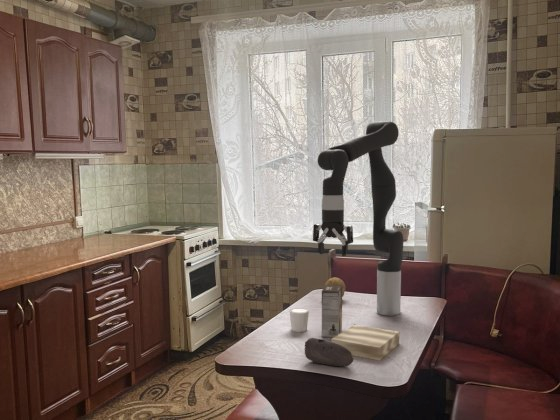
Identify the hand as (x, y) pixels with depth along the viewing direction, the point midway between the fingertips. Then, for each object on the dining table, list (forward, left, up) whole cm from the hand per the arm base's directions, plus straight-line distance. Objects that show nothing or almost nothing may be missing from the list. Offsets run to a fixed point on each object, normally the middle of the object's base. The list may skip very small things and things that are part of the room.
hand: (332, 254), depth 192 cm
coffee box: (0, 0, -28) cm, 28 cm away
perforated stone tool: (+27, +12, -28) cm, 41 cm away
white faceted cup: (+2, -12, -28) cm, 31 cm away
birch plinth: (+8, +16, -28) cm, 33 cm away
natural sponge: (-43, -19, -28) cm, 55 cm away
